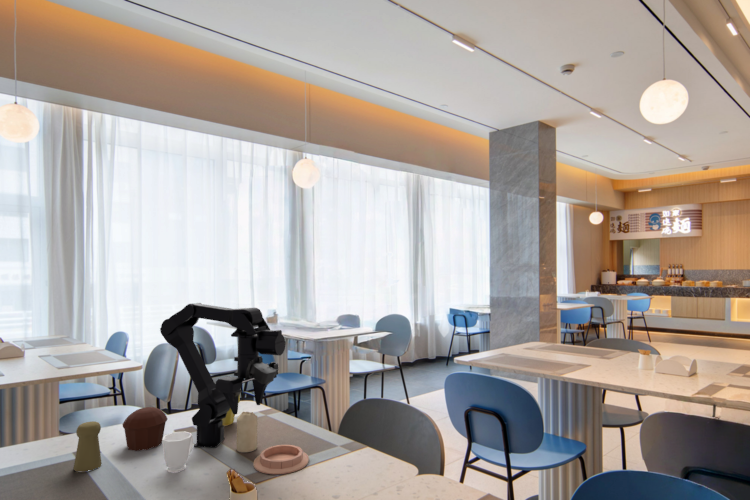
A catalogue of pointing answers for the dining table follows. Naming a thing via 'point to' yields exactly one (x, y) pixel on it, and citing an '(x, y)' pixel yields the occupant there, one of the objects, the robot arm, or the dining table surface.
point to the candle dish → (281, 460)
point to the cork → (88, 447)
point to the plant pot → (229, 417)
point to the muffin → (144, 428)
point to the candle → (246, 432)
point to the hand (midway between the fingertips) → (247, 409)
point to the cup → (177, 450)
